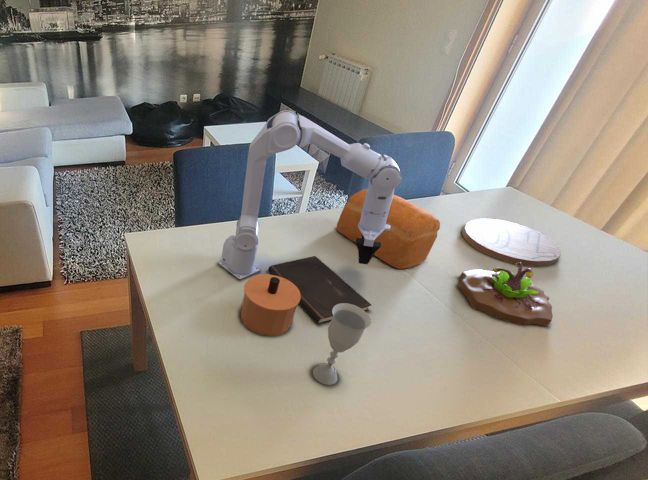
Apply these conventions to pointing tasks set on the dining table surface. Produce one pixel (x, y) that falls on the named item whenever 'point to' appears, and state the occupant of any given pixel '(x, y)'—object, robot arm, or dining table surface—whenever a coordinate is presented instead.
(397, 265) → the bread
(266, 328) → the pot
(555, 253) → the trivet
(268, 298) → the pot lid
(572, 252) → the dining table surface
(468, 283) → the plant
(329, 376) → the chalice
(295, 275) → the hardcover book
